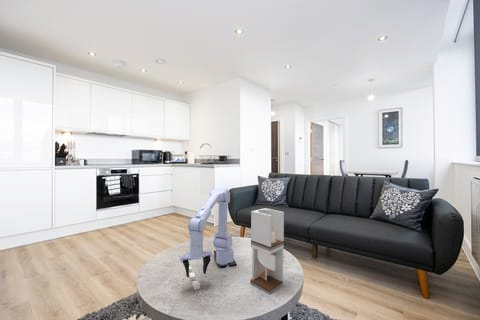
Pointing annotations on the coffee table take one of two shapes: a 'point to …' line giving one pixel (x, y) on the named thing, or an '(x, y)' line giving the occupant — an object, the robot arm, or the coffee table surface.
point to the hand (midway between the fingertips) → (196, 274)
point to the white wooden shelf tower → (267, 249)
